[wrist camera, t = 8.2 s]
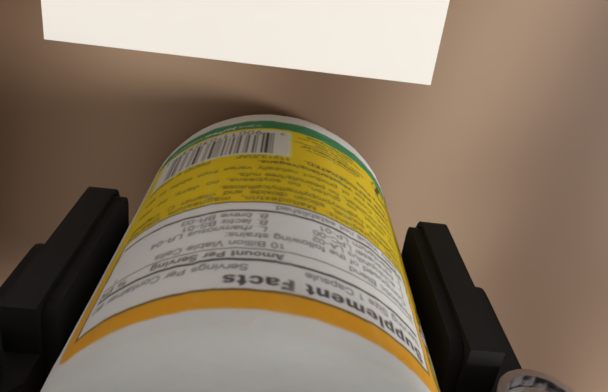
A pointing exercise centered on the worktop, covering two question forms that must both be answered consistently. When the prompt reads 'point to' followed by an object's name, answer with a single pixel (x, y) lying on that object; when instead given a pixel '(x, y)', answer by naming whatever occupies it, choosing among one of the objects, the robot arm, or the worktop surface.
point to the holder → (266, 32)
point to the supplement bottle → (253, 276)
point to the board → (361, 149)
